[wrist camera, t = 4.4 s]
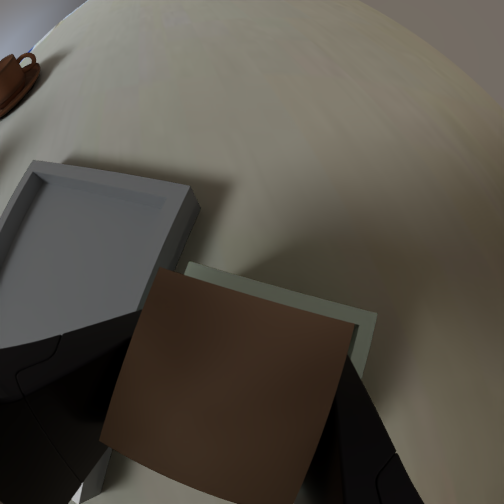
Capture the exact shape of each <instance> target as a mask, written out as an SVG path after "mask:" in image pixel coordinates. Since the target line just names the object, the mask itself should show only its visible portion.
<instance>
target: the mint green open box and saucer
mask: <svg viewBox="0 0 504 504" xmlns="http://www.w3.org/2000/svg"><path fill="white" fill-rule="evenodd" d="M25 57H30V58H31V59H32V63H31V64H29V65H27V66H25V67H23V68H21V66H20V65H19V63H20V62H21V60H22V59H23V58H25ZM39 72H40V65H39V64H38V63H36V57H35V55H34V54H32V53H25V54H23V55H21V56H20V57H19V58H18V59H17V60H16V58H15V57H14V55H13V54H11V55H9V56H7V57H5V58H3V59H2V60H1V61H0V118H1V117H2V116H4V115H5V114H6V113H7V112H8V111H10V110H11V109H12V108H13V107H14V106H15V105H16V104H17V103H18V102H19V101H20V100H21V99H22V98H23V97H24V96H25V95H26V94H27V92H28V91H29V90H30V89H31V87H32V86H33V84H34V83H35V81H36V80H37V78H38V75H39Z"/></svg>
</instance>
